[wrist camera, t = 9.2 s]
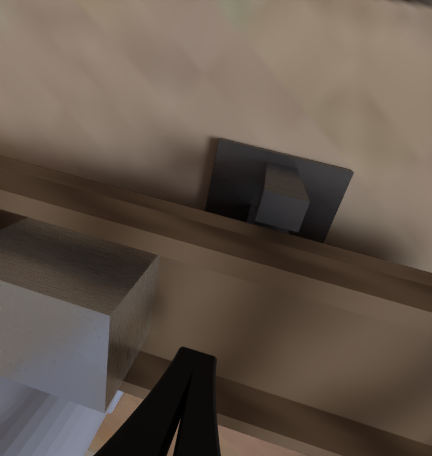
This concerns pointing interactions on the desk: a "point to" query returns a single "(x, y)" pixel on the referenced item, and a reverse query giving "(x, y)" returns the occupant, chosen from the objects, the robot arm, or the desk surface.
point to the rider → (72, 310)
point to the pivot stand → (276, 190)
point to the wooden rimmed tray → (263, 317)
